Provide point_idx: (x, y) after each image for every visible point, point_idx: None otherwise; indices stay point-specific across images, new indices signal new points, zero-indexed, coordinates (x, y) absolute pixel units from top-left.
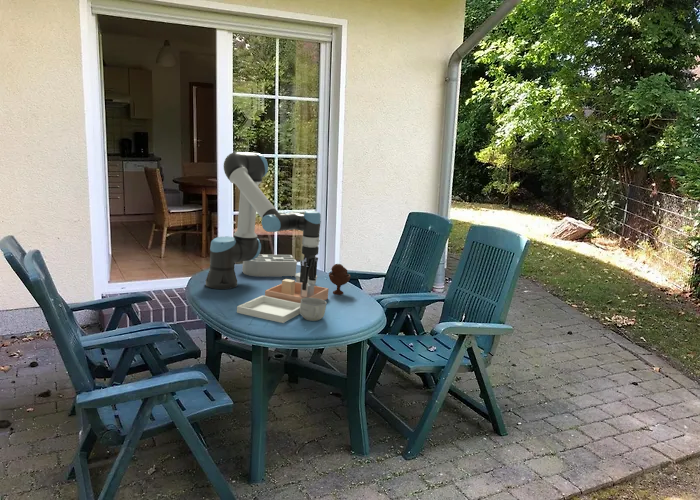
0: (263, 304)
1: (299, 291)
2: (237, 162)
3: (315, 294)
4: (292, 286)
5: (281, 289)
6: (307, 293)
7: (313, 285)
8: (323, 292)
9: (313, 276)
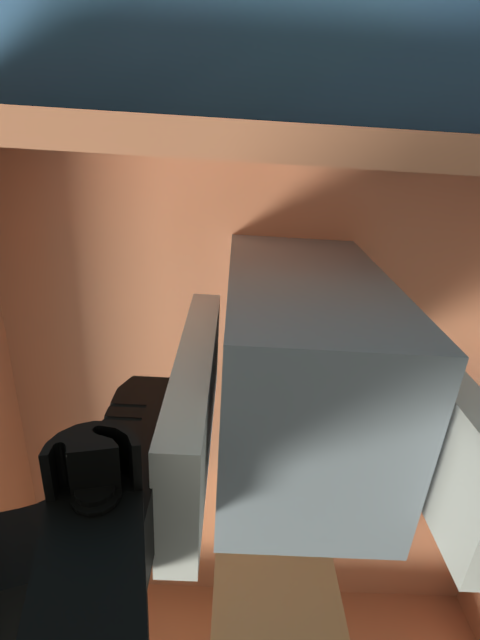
0: None
1: (28, 498)
2: None
3: (439, 159)
4: (295, 607)
5: (194, 632)
6: None
7: (288, 339)
8: (85, 109)
9: (112, 601)
